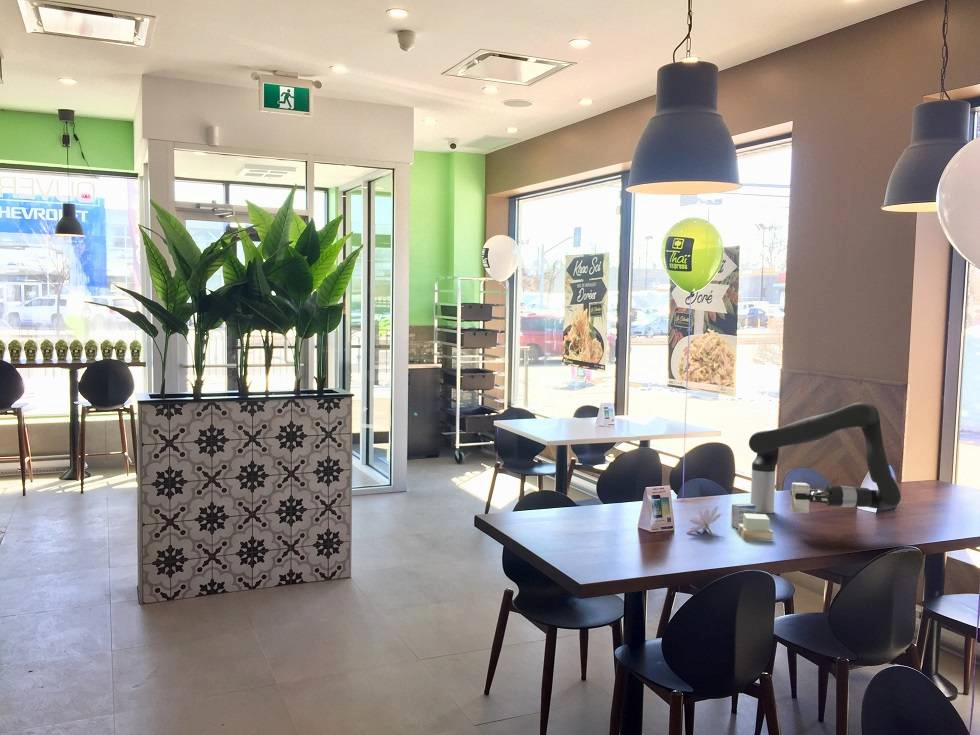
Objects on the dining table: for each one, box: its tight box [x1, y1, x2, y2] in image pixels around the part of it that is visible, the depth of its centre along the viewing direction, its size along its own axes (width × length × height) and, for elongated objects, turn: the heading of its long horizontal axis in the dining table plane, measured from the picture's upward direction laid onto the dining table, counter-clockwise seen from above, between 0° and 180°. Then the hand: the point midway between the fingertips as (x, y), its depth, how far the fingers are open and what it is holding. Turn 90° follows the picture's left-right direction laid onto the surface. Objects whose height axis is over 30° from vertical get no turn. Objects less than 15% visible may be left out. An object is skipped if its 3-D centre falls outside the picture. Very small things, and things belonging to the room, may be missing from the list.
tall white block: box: [790, 482, 811, 514], centre depth 305 cm, size 5×5×10 cm
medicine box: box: [730, 502, 757, 529], centre depth 317 cm, size 8×4×9 cm, turn 105°
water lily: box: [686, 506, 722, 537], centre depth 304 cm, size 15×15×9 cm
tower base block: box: [737, 524, 774, 541], centre depth 302 cm, size 10×10×4 cm
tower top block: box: [743, 513, 771, 531], centre depth 302 cm, size 8×8×4 cm
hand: (793, 494), depth 305 cm, fingers closed on tall white block, 5 cm apart
